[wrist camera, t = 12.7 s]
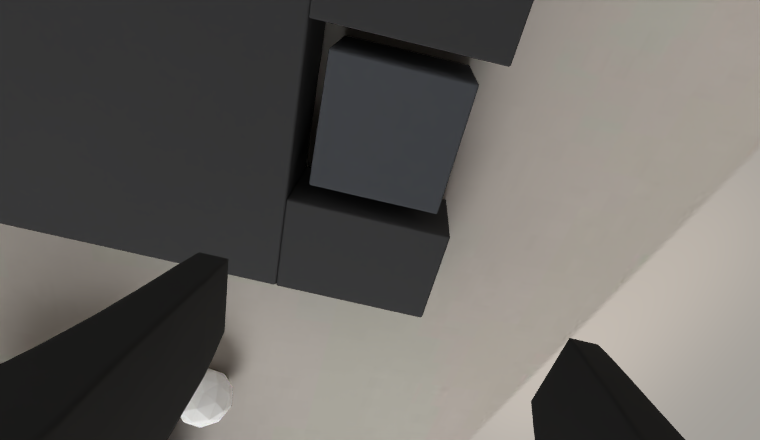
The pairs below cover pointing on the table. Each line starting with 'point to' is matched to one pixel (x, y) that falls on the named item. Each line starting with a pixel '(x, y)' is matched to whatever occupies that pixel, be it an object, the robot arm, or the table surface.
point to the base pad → (216, 134)
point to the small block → (390, 123)
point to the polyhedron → (209, 400)
